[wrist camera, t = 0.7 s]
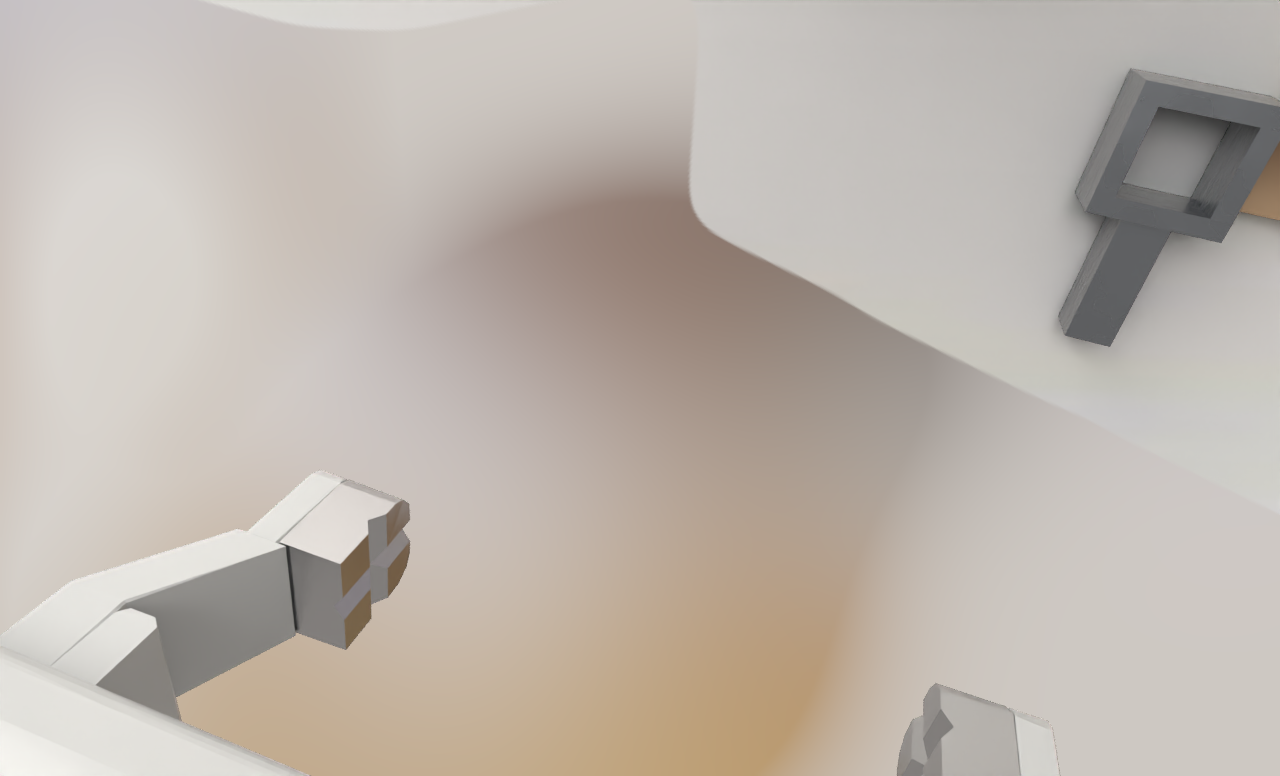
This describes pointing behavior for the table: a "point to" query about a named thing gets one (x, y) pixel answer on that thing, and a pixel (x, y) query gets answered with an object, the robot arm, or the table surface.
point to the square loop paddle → (1152, 215)
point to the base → (1266, 190)
